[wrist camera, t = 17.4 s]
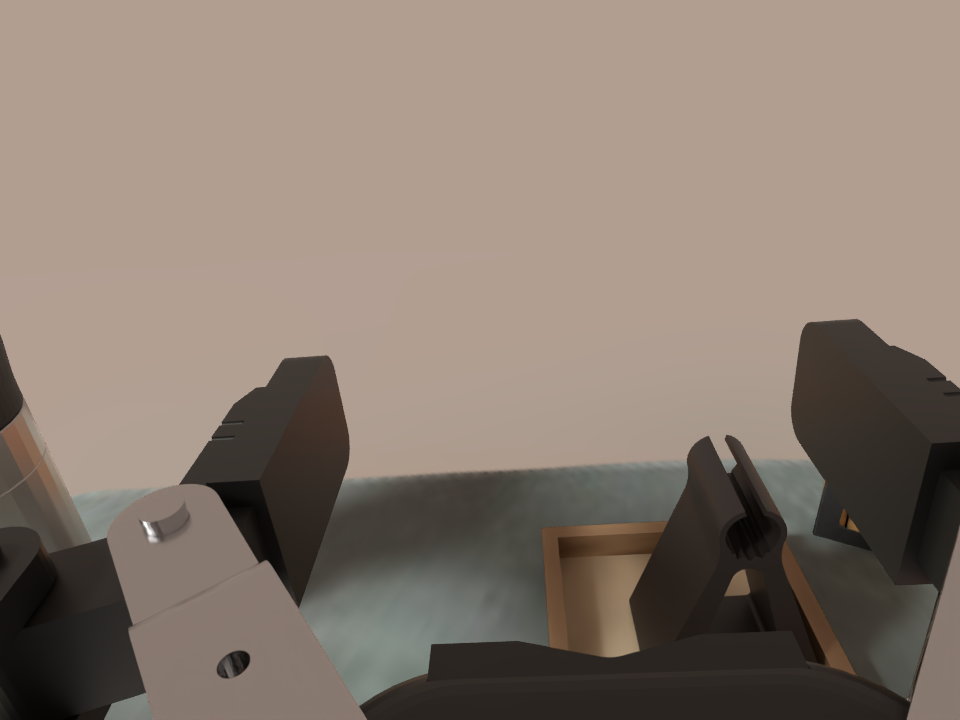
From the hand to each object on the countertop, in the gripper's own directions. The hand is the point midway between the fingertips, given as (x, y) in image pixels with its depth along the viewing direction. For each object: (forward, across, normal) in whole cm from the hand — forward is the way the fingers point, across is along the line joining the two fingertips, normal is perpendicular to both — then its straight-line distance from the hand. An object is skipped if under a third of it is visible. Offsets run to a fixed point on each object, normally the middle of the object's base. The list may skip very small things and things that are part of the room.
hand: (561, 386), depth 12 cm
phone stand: (+16, -9, +27) cm, 33 cm away
